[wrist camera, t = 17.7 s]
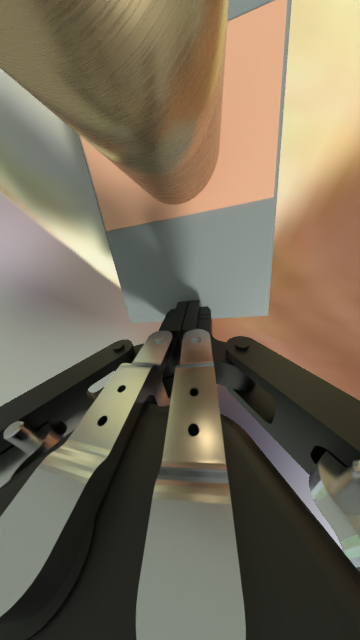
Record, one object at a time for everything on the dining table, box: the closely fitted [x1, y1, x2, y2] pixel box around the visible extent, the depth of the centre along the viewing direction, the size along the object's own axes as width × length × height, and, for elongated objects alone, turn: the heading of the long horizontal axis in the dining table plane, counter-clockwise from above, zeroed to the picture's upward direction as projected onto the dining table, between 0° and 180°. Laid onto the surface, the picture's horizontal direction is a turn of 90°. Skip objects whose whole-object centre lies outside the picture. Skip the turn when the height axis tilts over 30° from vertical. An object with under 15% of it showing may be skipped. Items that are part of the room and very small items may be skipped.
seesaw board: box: [78, 0, 292, 323], centre depth 7 cm, size 26×10×1 cm, turn 10°
